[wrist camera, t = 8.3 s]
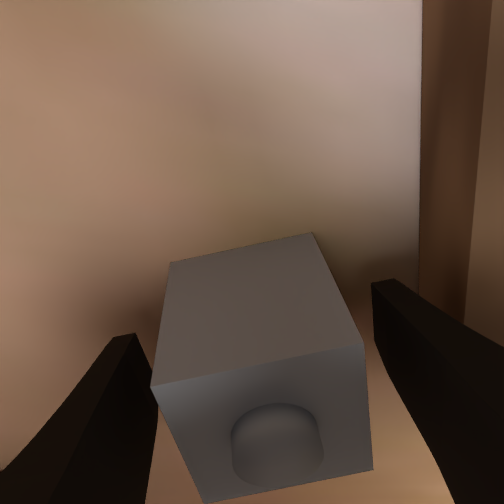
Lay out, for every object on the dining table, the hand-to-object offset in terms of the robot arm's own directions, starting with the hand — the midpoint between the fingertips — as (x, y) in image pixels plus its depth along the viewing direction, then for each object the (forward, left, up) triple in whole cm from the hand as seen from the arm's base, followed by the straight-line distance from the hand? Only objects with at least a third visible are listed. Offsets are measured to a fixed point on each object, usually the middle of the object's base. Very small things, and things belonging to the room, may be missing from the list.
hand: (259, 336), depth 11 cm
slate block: (0, 0, -2) cm, 2 cm away
